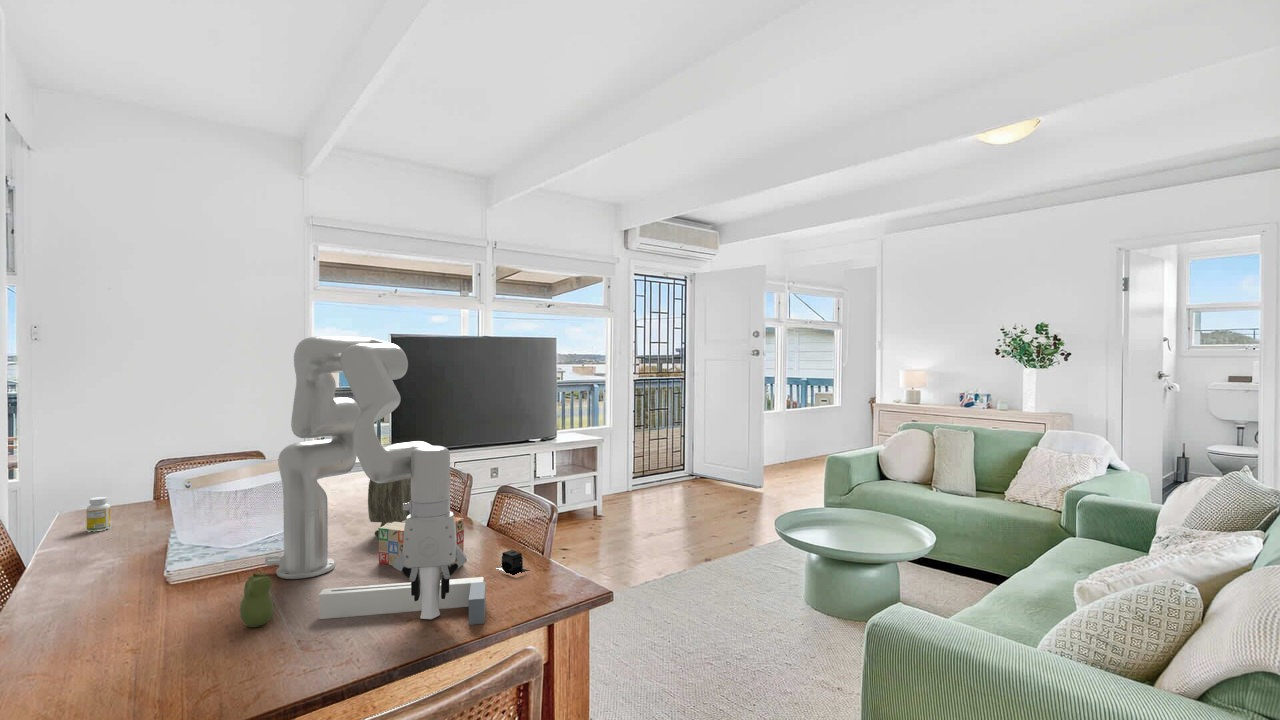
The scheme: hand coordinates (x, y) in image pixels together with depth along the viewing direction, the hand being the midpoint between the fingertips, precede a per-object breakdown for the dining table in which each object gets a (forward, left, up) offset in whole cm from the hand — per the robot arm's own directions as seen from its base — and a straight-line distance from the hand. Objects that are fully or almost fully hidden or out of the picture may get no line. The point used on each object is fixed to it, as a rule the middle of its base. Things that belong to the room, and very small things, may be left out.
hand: (430, 596), depth 125 cm
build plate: (+17, +24, -5) cm, 30 cm away
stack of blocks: (-6, +33, -5) cm, 34 cm away
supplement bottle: (-104, +84, -5) cm, 134 cm away
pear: (-33, +3, -4) cm, 33 cm away
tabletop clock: (-17, +64, -4) cm, 67 cm away
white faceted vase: (0, 0, -4) cm, 4 cm away
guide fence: (-6, +1, -4) cm, 7 cm away
